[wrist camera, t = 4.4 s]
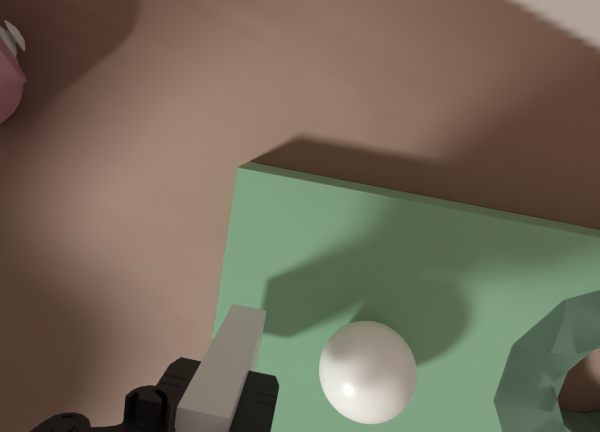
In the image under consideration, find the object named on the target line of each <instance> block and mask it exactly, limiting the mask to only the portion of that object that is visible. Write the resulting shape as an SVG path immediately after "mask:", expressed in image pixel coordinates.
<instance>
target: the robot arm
mask: <svg viewBox="0 0 600 432" xmlns="http://www.w3.org/2000/svg"><path fill="white" fill-rule="evenodd" d="M265 317H266V311H265V310H261V309H256V308H251V307H246V306H241V305H236V304H232V306H231V308H230V310H229V311H228V313H227V315H226V317H225V319H224V321H223V323H222V324H221V326H220V328H219V330H218V332H217V334H216V336H215V337H214V339H213V341H212V343H211V345H210V347H209V349H208V350H207V352H206V354H205V356H204V358H203V360H202V362H201V361H196V360H192V359H187V358H182V357H181V358H179V359H178V360H176V361H174V362H173V363H171V364H170V365H169V367H168V368H167V370H166V371H165V373H164V375H163V376H162V377H161V379H160V380H159V382H158V383H157V385H156V386H152V385H148V386H142V387H139V388H136V389H134V390H132V391H131V392H130V393H129V394H127V395H126V398H125V409H124V420H123V422H122V423H121V424H119V425H115V426H108V427H91V425H90V422H89V419H88V418H87V417H85V416H84V415H82V414H78V413H62V414H58V415H55V416H52V417H51V418H49V419H47V420H45V421H43V422H42V423H41V424H39V425H38V426H37V427H35V428H34V429H32V430H31V431H30V432H271V427H272V422H273V417H274V412H275V407H276V402H277V397H278V391H279V383H278V381H277V378H276V376H274V375H269V374H264V373H259V372H255V370H256V367H257V362H258V356H259V350H260V345H261V339H262V334H263V328H264V322H265Z"/></svg>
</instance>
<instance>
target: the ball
mask: <svg viewBox="0 0 600 432" xmlns="http://www.w3.org/2000/svg"><path fill="white" fill-rule="evenodd" d="M319 377H320V382H321V386H322V389H323V391H324V393H325V395H326V397H327V399H328V400H329V402H330V403H331V405H332V406H333V407H334V408H335V409H336V410H337V411H338V412H339V413H341V414H342V415H343V416H345V417H347V418H349V419H350V420H353V421H355V422H359V423H363V424H378V423H383V422H386V421H389V420H391V419H393V418H394V417H396V416H397V415H399V414H400V413H401V412H402V411H403V410H404V409H405V408H406V407H407V405H408V404H409V402H410V400H411V399H412V397H413V394H414V392H415V388H416V383H417V367H416V363H415V359H414V356H413V353H412V351H411V349H410V347H409V346H408V344H407V343H406V341H405V340H404V339H403V338H402V337H401V336H400V335H399V334H398V333H397V332H396V331H394V330H393V329H392V328H390V327H388V326H386V325H384V324H382V323H378V322H374V321H356V322H352V323H349V324H347V325H345V326H343V327H341V328H340V329H338V330H337V331H336V332H335V333H333V335H332V336H331V337H330V338H329V339H328V341H327V342H326V344H325V346H324V348H323V350H322V353H321V357H320V363H319Z"/></svg>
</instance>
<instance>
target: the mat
mask: <svg viewBox="0 0 600 432" xmlns="http://www.w3.org/2000/svg"><path fill="white" fill-rule="evenodd" d="M232 304H236V305H241V306H246V307H251V308H256V309H261V310H265V311H266V317H265V322H264V328H263V334H262V339H261V345H260V350H259V356H258V362H257V367H256V370H255V372H259V373H264V374H269V375H274V376H276V378H277V381H278V383H279V391H278V397H277V402H276V407H275V412H274V417H273V422H272V427H271V432H600V410H597V411H593V412H589V413H580V412H575V411H570V410H566V409H561V408H559V404H558V400H557V398H558V395H559V393H560V390H561V388H562V385H563V382H564V380H565V377H566V375H567V372H568V371H569V370H570V369H571V368H572V367H574V366H575V365H576V364H577V363H578V362H580V361H581V360H582V359H583V358H584V357H586V356H587V355H588V354H589V353H591V352H592V351H593V350H595V349H599V348H600V230H599V229H594V228H589V227H584V226H579V225H573V224H568V223H563V222H558V221H553V220H547V219H542V218H537V217H532V216H527V215H522V214H516V213H511V212H506V211H501V210H496V209H491V208H485V207H480V206H475V205H470V204H465V203H460V202H454V201H449V200H444V199H439V198H434V197H428V196H423V195H418V194H413V193H408V192H403V191H397V190H392V189H387V188H382V187H377V186H372V185H366V184H361V183H356V182H351V181H346V180H341V179H335V178H330V177H325V176H320V175H315V174H310V173H304V172H299V171H294V170H289V169H284V168H278V167H273V166H268V165H263V164H258V163H253V162H247V163H245V164H243V165H241V166H239V167H237V174H236V180H235V187H234V194H233V201H232V207H231V214H230V221H229V228H228V235H227V241H226V248H225V255H224V262H223V268H222V275H221V282H220V289H219V295H218V302H217V309H216V316H215V322H214V329H213V336H212V341H213V339H214V337H215V336H216V334H217V332H218V330H219V328H220V326H221V324H222V323H223V321H224V319H225V317H226V315H227V313H228V311H229V310H230V308H231V306H232ZM356 321H374V322H378V323H382V324H384V325H386V326H388V327H390V328H392V329H393V330H394V331H396V332H397V333H398V334H399V335H400V336H401V337H402V338H403V339H404V340H405V341H406V343H407V344H408V346H409V347H410V349H411V351H412V353H413V356H414V359H415V363H416V367H417V383H416V388H415V392H414V394H413V397H412V399H411V400H410V402H409V404H408V405H407V407H406V408H405V409H404V410H403V411H402V412H401V413H400V414H399V415H397V416H396V417H394V418H393V419H391V420H389V421H386V422H383V423H378V424H363V423H359V422H355V421H353V420H350V419H349V418H347V417H345V416H343V415H342V414H341V413H339V412H338V411H337V410H336V409H335V408H334V407H333V406H332V405H331V403H330V402H329V400H328V399H327V397H326V395H325V393H324V391H323V389H322V386H321V382H320V377H319V363H320V357H321V353H322V350H323V348H324V346H325V344H326V342H327V341H328V339H329V338H330V337H331V336H332V335H333V333H335V332H336V331H337V330H338V329H340V328H341V327H343V326H345V325H347V324H349V323H352V322H356Z"/></svg>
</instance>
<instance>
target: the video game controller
mask: <svg viewBox="0 0 600 432" xmlns="http://www.w3.org/2000/svg"><path fill="white" fill-rule="evenodd" d="M4 22H5V24H6V26H7V28H8V30H9V31H7V30H5V29H4V28H3V27H1V26H0V124H1V123H2V122H4V121H5V120H6V119H7V118H8V117H10V116H11V115H12V114H13V113H14V111H15V110H16V109H17V107H18V105H19V103H20V101H21V98H22V93H23V83H25V82H27V80H26V77H25V75H24V73H23V71H22V69H21V68H20V66H19V63H18V58H17V56H16V55H17V50H16V43H17V44H18V45H19V46H20V48H21V49H22V51H25V40H24V39H23V37H22V35H21V34H20V32H19V31H18V29H17V28H16V27H15V26H13V25H12V24H11V23H9V22H8V21H6V20H5V21H4Z"/></svg>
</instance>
